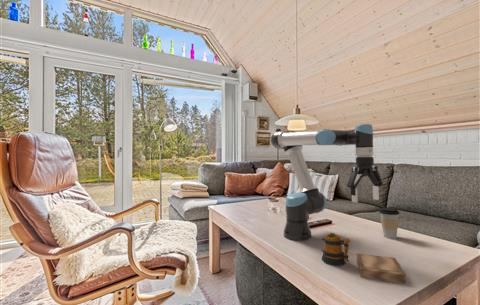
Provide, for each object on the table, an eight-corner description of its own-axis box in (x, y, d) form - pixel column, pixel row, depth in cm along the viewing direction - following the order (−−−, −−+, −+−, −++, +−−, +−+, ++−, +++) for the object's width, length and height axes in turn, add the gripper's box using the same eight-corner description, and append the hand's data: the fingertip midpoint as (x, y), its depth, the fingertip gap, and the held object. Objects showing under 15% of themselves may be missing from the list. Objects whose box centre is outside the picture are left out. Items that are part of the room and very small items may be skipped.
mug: (316, 259, 101) (315, 232, 101) (331, 253, 106) (330, 228, 106) (342, 271, 89) (341, 241, 90) (358, 264, 95) (357, 236, 95)
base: (360, 276, 85) (360, 268, 85) (356, 260, 98) (356, 253, 98) (405, 283, 80) (405, 274, 80) (395, 265, 93) (395, 257, 93)
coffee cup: (404, 240, 119) (402, 211, 119) (383, 239, 121) (382, 210, 121) (395, 234, 128) (394, 207, 128) (376, 233, 130) (375, 206, 130)
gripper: (350, 157, 103) (351, 204, 103) (390, 155, 112) (391, 199, 112) (338, 157, 110) (339, 201, 110) (376, 155, 119) (377, 197, 119)
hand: (365, 200), depth 111 cm, fingers open, 13 cm apart
